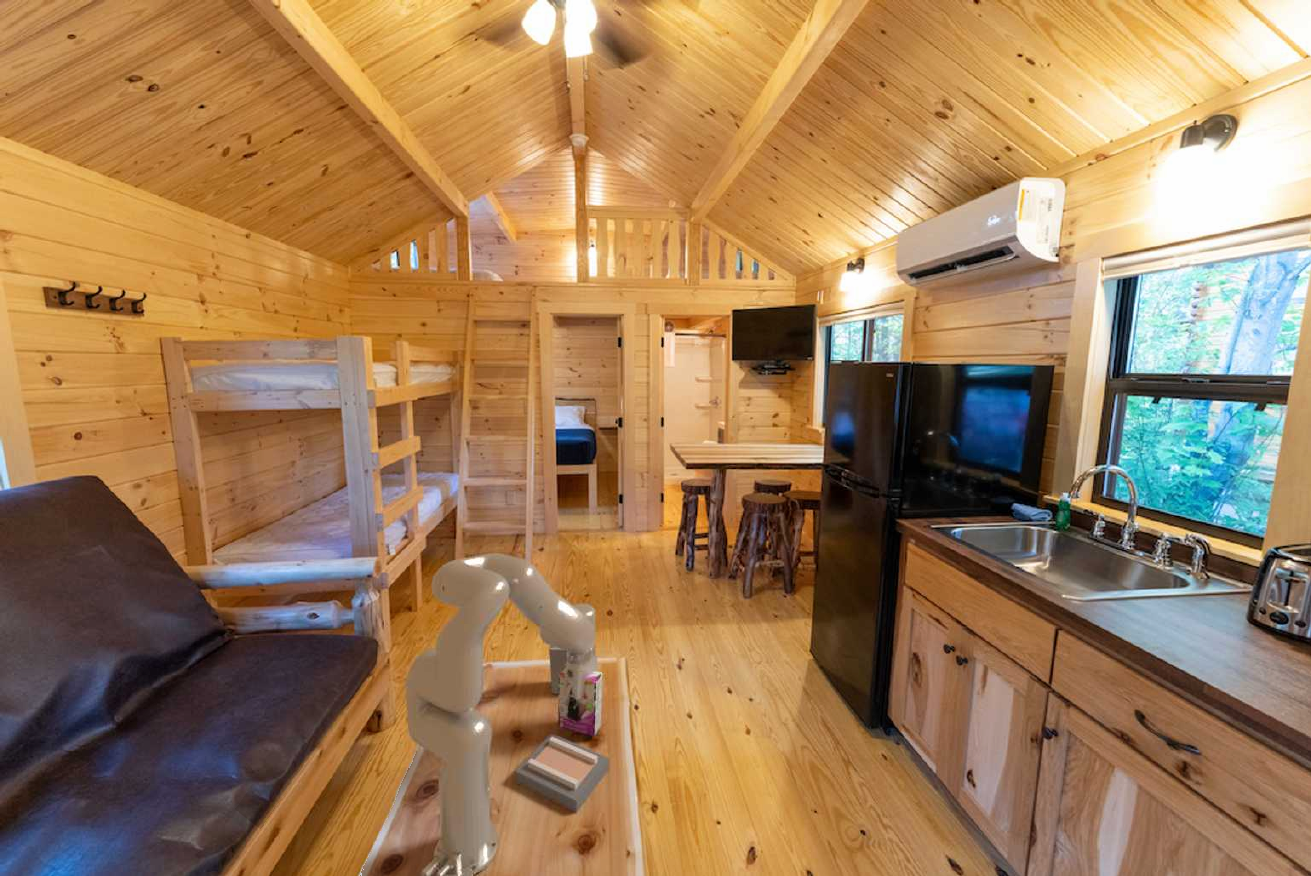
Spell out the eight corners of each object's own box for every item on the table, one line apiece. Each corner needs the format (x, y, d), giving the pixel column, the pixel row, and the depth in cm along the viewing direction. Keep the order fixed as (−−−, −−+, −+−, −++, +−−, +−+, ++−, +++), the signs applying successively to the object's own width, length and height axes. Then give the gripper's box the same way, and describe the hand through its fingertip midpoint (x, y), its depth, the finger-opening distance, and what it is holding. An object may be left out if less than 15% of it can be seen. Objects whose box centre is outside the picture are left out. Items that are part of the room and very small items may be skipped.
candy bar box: (557, 728, 139) (557, 673, 136) (565, 717, 143) (565, 663, 141) (595, 738, 136) (596, 681, 133) (602, 725, 140) (603, 671, 138)
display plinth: (576, 812, 115) (576, 795, 114) (515, 781, 123) (514, 765, 122) (609, 768, 127) (609, 752, 126) (551, 743, 135) (551, 728, 134)
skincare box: (582, 683, 160) (582, 636, 158) (576, 697, 153) (576, 649, 151) (556, 680, 161) (555, 634, 158) (549, 695, 154) (548, 647, 151)
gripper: (573, 671, 127) (572, 736, 130) (609, 639, 142) (608, 698, 145) (549, 663, 130) (549, 726, 133) (587, 632, 146) (586, 690, 148)
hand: (580, 711), depth 139 cm, fingers closed on candy bar box, 5 cm apart
